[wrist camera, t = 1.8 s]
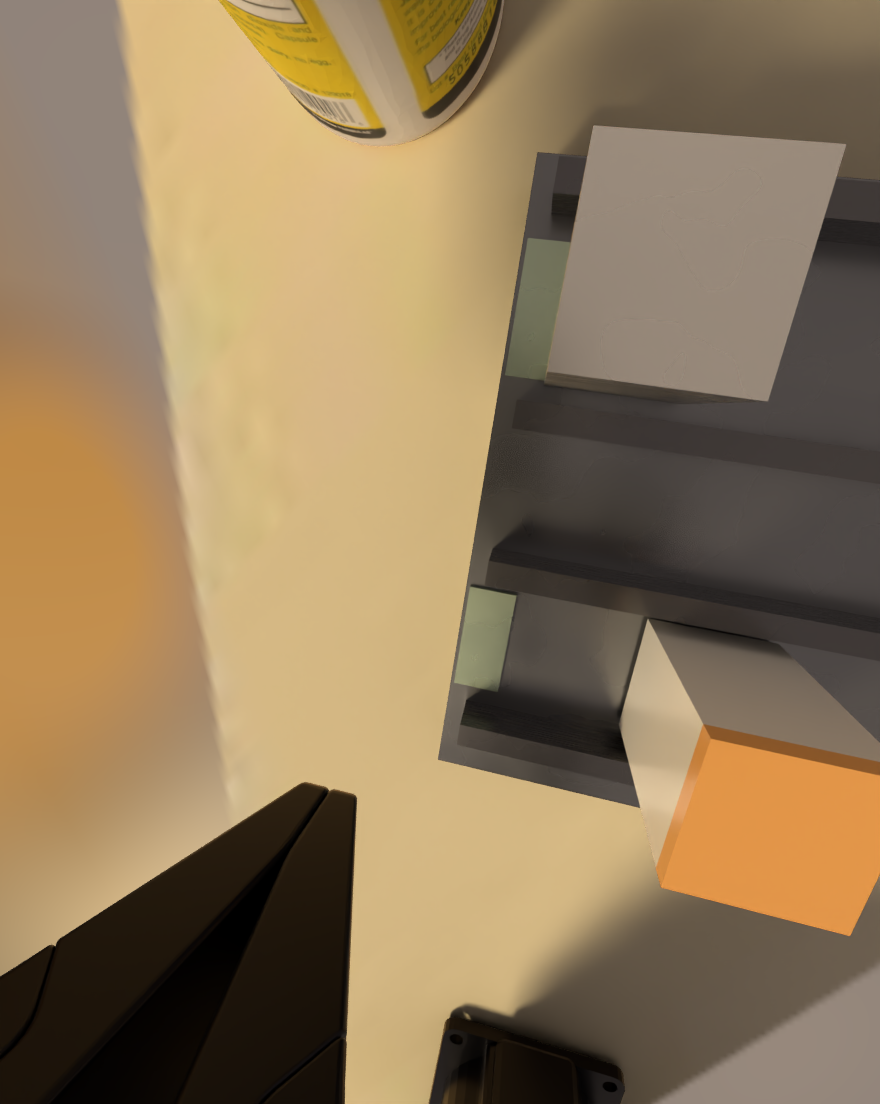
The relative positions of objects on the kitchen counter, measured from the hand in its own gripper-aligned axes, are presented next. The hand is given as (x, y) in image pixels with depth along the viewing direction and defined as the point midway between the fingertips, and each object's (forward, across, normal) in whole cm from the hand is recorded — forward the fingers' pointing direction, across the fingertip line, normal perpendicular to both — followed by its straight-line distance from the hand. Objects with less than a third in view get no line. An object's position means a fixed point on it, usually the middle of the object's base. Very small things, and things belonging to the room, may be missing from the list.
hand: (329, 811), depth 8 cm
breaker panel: (+8, -7, -4) cm, 11 cm away
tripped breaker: (+7, -7, 0) cm, 9 cm away
